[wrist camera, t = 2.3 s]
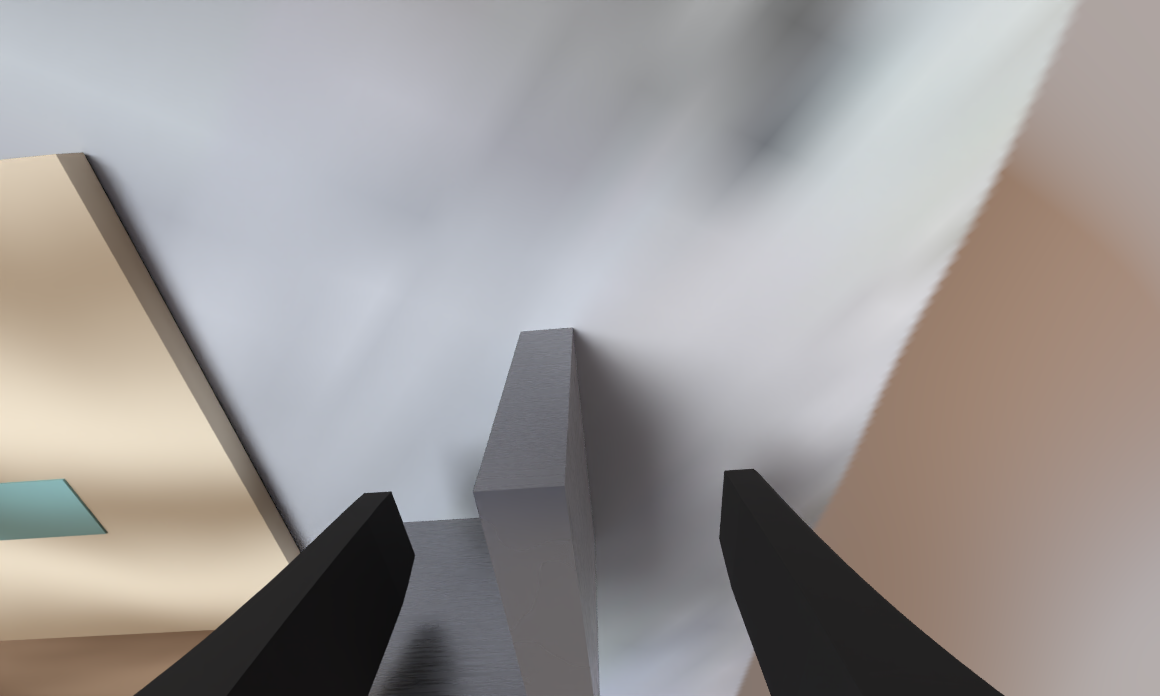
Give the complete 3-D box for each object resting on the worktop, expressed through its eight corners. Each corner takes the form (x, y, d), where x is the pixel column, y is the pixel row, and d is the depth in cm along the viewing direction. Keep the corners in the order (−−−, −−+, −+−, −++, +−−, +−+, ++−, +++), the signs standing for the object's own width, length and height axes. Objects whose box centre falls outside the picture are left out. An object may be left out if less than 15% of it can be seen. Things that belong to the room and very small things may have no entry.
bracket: (595, 540, 13) (601, 749, 9) (367, 553, 14) (263, 761, 9) (572, 327, 10) (564, 485, 6) (278, 350, 11) (53, 518, 6)
